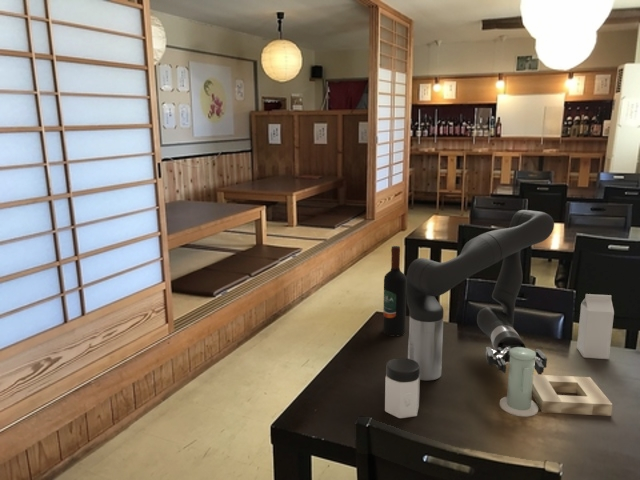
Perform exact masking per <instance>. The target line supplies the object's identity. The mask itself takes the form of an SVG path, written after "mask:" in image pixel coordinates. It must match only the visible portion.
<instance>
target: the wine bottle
mask: <svg viewBox="0 0 640 480" xmlns="http://www.w3.org/2000/svg"><path fill="white" fill-rule="evenodd" d="M390 252H391V258H390V261H391V262H390V263H391V268H390V270H389V271H388V272H387V273H386V274H385V275H384V277H383V314H382V315H383V319H382V321H383V323H382V327H383V328H382V329H383V330H382V331H383V334H384V333H386V334H388V335H387V336H389V335H394V336H393V337H398V336H397V335H402V336H404V335H405V334H406V319H407V317H406V315H407V313H406V312H407V286H406V279H407V275H405V274H404V272H403V271H401V269H400V268H401V267H400V266H401V265H400V264H401V263H400V261H401V260H400V259H401V246H398V245H393V246H391V251H390ZM404 333H405V334H404ZM386 334H385V335H386ZM403 334H404V335H403Z"/></svg>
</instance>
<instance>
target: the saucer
mask: <svg viewBox="0 0 640 480" xmlns="http://www.w3.org/2000/svg"><path fill="white" fill-rule="evenodd" d="M499 407H500V408H501V409H502V410H503V411H504V412H505V413H507V414H510V415H512V416H516V417H522V418H526V417H527V418H528V417H533V416H536V415H537V414H538V412H539V406H538V404H537V402H536V401H533V400H532V399H531V407H530V409H528V410H516V409H513V408H511V407H510V406H508V405H507V395H506V396H504V397H501V398H500V399H499Z"/></svg>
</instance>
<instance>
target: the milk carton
mask: <svg viewBox="0 0 640 480" xmlns="http://www.w3.org/2000/svg"><path fill="white" fill-rule="evenodd" d="M579 313H580V314H579V323H578V333H577V342H576V348H577V351H578V352H579V353H580V355H581V356H582V358H585V359H600V360H609V359H610V351H611V343H612V342H611V341H612V334H613V323H614V315H615V310H614V306H613V301H612V295H611V294H609V295H608V294H591V293H589V294H588V293H585V298H584V299H583V300H582V301H581V304H580V311H579Z"/></svg>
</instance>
